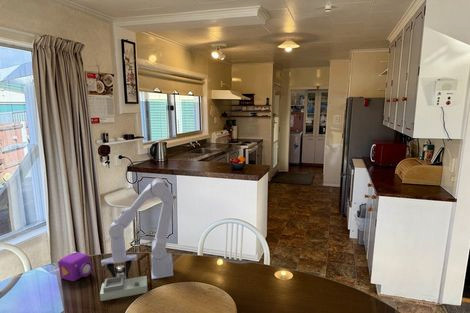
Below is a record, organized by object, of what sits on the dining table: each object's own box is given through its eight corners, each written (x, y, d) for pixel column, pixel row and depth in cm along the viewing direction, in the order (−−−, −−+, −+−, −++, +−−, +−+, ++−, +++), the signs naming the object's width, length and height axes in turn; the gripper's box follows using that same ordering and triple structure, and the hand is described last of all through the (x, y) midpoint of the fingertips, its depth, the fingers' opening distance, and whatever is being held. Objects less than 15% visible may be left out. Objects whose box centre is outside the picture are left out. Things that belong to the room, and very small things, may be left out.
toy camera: (83, 284, 133) (81, 263, 131) (56, 281, 136) (54, 260, 134) (99, 271, 143) (97, 251, 142) (73, 268, 146) (71, 249, 144)
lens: (126, 277, 138) (125, 264, 137) (126, 282, 134) (124, 269, 133) (116, 278, 137) (115, 266, 136) (115, 283, 133) (114, 271, 132)
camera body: (147, 281, 134) (146, 271, 133) (147, 292, 126) (146, 281, 125) (102, 289, 129) (101, 278, 128) (100, 301, 121) (99, 289, 120)
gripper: (136, 242, 139) (138, 270, 141) (101, 247, 135) (104, 275, 137) (135, 249, 132) (138, 278, 134) (99, 254, 128) (102, 284, 130)
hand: (121, 277), depth 135 cm, fingers open, 5 cm apart
